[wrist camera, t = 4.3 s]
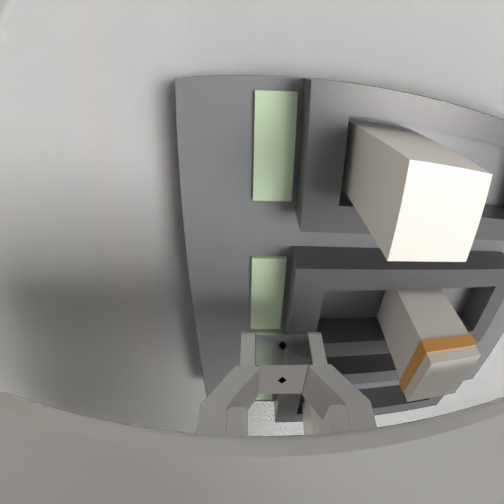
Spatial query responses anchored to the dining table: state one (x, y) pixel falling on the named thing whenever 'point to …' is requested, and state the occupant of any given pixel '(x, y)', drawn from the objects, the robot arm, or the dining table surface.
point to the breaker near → (413, 193)
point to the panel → (317, 225)
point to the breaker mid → (426, 342)
